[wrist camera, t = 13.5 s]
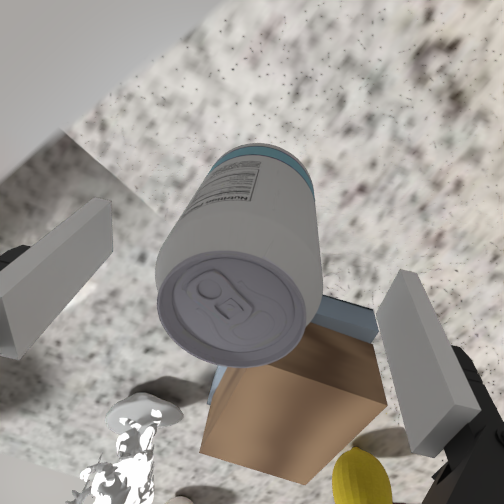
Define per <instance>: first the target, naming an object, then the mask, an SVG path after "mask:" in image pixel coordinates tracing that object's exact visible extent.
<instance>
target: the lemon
mask: <svg viewBox="0 0 504 504" xmlns="http://www.w3.org/2000/svg"><path fill="white" fill-rule="evenodd" d="M332 489H333V496H334V500H335V504H393V502H392V491H391V485H390V481H389V478H388V475H387V473H386V471H385V469H384V467H383V466H382V464H381V463H380V462H379V460H378V459H377V458H375V457H374V456H373V455H372V454H370V453H368V452H366V451H363V450H361V449H360V448H358V447H353V448H352V449H351V450H350V451H347V452H345V453H343V454H342V455H341V456H340V457H339V458H338V460H337V462H336V464H335V466H334V469H333V474H332Z"/></svg>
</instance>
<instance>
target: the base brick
mask: <svg viewBox="0 0 504 504" xmlns="http://www.w3.org/2000/svg"><path fill="white" fill-rule="evenodd" d="M311 323H314V324H317V325H320V326H323V327H325V328H328V329H331V330H334V331H337V332H339V333H342V334H345V335H348V336H351V337H353V338H356V339H359V340H362V341H365V342H367V343H370V344H371V342H372V341H373V340H374V338H375V337H376V335H377V334H378V332H379V330H378V326H377V323H376V319H375V315H374V311H373V309H370V308H367V307H364V306H360V305H357V304H353V303H350V302H347V301H343V300H340V299H336V298H333V297H330V296H326V295H323V294H322V299H321V303H320V305H319V308H318V310H317V312H316V314H315V316H314V317H313V319H312V320H311ZM226 369H227V367H224V366H219V365H218V367H217V370H216V373H215V376H214V379H213V381H212V385H211V389H210V393H209V397H208V401H207V404H208V405H211V401H212V396H213V394H214V392H215V390H216V389H217V387H218V385H219V383H220V381H221V379H222V377H223V375H224V373H225V371H226Z"/></svg>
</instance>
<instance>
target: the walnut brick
mask: <svg viewBox="0 0 504 504" xmlns="http://www.w3.org/2000/svg"><path fill="white" fill-rule="evenodd" d="M387 406H388V405H387V401H386V397H385V393H384V389H383V384H382V380H381V376H380V372H379V368H378V364H377V359H376V355H375V351H374V347H373V344H370V343H367V342H365V341H362V340H359V339H356V338H353V337H351V336H348V335H345V334H342V333H339V332H337V331H334V330H331V329H328V328H325V327H323V326H320V325H317V324H314V323H311V322H310V323H309V324H308V325H307V326H306V328H305V331H304V334H303V336H302V338H301V340H300V342H299V343H298V345H297V346H296V347H295V348H294V349H293V350H292V351H291V352H290V353H289V354H287V355H286V356H284V357H283V358H281V359H279V360H277V361H275V362H273V363H270V364H267V365H263V366H259V367H252V368H232V367H227V369H226V371H225V373H224V375H223V377H222V379H221V381H220V383H219V385H218V387H217V389H216V390H215V392H214V394H213V396H212V401H211V405H210V409H209V413H208V418H207V422H206V426H205V430H204V435H203V439H202V443H201V447H200V452H199V453H202V454H205V455H208V456H212V457H215V458H218V459H221V460H225V461H228V462H231V463H234V464H238V465H241V466H244V467H247V468H250V469H254V470H257V471H260V472H263V473H267V474H270V475H273V476H276V477H280V478H283V479H286V480H289V481H293V482H296V483H299V484H302V485H306V484H307V483H308V482H309V481H310V480H311V479H312V478H313V477H314V476H315V475H316V474H317V473H318V472H320V471H321V470H322V469H323V468H324V467H325V466H326V465H327V464H328V463H329V462H330V461H331V460H332V459H333V458H334V457H335V456H336V455H337V454H338V453H339V452H340V451H341V450H342V449H343V448H344V447H345V446H346V445H347V444H348V443H349V442H351V441H352V440H353V439H354V438H355V437H356V436H357V435H358V434H359V433H360V432H361V431H362V430H363V429H364V428H365V427H366V426H367V425H368V424H369V423H370V422H371V421H372V420H373V419H374V418H375V417H376V416H377V415H378V414H379V413H380V412H381V411H383V410H384V409H385V408H386V407H387Z"/></svg>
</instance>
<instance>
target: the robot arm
mask: <svg viewBox="0 0 504 504" xmlns="http://www.w3.org/2000/svg"><path fill="white" fill-rule="evenodd" d="M112 252H113V236H112V205H111V201H109V200H105V199H101V198H97V197H94V198H93V199H91V200H90V201H89V202H88V203H86V204H85V205H84V206H82V207H81V208H80V209H79V210H77V211H76V212H75V213H74V214H72V215H71V216H70V217H69V218H67V219H66V220H65V221H63V222H62V223H61V224H60V225H58V226H57V227H56V228H55V229H53V230H52V231H51V232H50V233H48V234H47V235H46V236H44V237H43V238H42V239H41V240H39V241H38V242H37V243H36V244H34V245H33V246H32V247H30V246H26V245H21V246H18V247H16V248H13V249H11V250H8V251H7V252H5V253H4V254H2V255H1V256H0V356H3V357H7V358H11V359H15V360H20V359H21V357H22V356H23V355H24V354H25V353H26V352H27V350H28V349H29V348H30V347H31V346H32V345H33V344H34V342H35V341H36V340H37V339H38V338H39V337H40V335H41V334H42V333H43V332H44V331H45V330H46V329H47V327H48V326H49V325H50V324H51V323H52V322H53V320H54V319H55V318H56V317H57V316H58V315H59V314H60V312H61V311H62V310H63V309H64V308H65V307H66V305H67V304H68V303H69V302H70V301H71V300H72V299H73V297H74V296H75V295H76V294H77V293H78V292H79V290H80V289H81V288H82V287H83V286H84V285H85V284H86V282H87V281H88V280H89V279H90V278H91V277H92V275H93V274H94V273H95V272H96V271H97V270H98V269H99V267H100V266H101V265H102V264H103V263H104V262H105V260H106V259H107V258H108V257H109V256H110V255H111V254H112ZM376 316H377V320H378V324H379V328H380V332H381V336H382V340H383V344H384V347H385V351H386V355H387V359H388V363H389V367H390V371H391V375H392V379H393V383H394V386H395V390H396V394H397V398H398V402H399V406H400V410H401V414H402V418H403V422H404V425H405V429H406V433H407V437H408V441H409V445H410V449H411V453H415V454H419V455H423V456H427V457H431V458H435V457H436V456H437V455H438V454H439V453H440V452H441V451H442V450H443V449H444V450H445V453H446V456H447V459H448V462H446V463H445V464H444V465H443V466H442V467H441V468H440V469H439V470H438V471H437V472H436V473H435V474H434V475H433V476H432V478H433V479H434V480H435V481H434V482H433V484H432V486H431V488H430V489H429V491H428V493H427V495H426V497H425V498H424V500H423V502H422V504H504V422H503V420H502V418H501V416H500V415H499V413H498V411H497V409H496V407H495V405H494V403H493V401H492V399H491V397H490V395H489V393H488V391H487V389H486V387H485V385H483V381H482V379H481V377H480V375H479V374H477V370H476V368H475V366H474V364H473V362H472V360H471V359H470V357H469V356H468V355H467V354H466V353H465V352H464V351H463V350H462V349H461V347H457V346H453V345H450V342H449V340H448V338H447V336H446V334H445V332H444V330H443V328H442V325H441V323H440V321H439V319H438V317H437V315H436V313H435V311H434V308H433V306H432V304H431V302H430V300H429V298H428V296H427V294H426V291H425V289H424V287H423V285H422V283H421V281H420V279H419V277H418V274H417V273H414V272H410V271H406V270H402V269H400V270H399V272H398V274H397V276H396V278H395V279H394V281H393V283H392V285H391V287H390V289H389V290H388V292H387V294H386V296H385V298H384V300H383V302H382V303H381V305H380V307H379V309H378V311H377V313H376Z"/></svg>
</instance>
